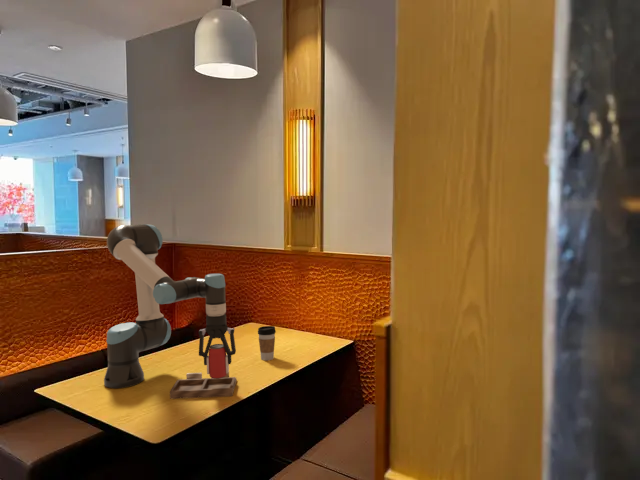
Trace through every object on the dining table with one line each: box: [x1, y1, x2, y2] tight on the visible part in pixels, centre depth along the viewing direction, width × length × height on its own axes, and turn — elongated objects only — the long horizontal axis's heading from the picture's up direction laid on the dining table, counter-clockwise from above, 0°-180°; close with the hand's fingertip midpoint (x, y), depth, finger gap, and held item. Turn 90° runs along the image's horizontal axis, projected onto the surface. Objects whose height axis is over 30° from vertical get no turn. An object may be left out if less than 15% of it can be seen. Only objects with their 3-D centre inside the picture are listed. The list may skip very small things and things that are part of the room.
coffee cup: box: [257, 325, 277, 361], centre depth 211 cm, size 8×8×15 cm
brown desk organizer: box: [169, 371, 238, 400], centre depth 175 cm, size 23×16×4 cm
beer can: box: [208, 343, 227, 379], centre depth 173 cm, size 7×7×12 cm
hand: (218, 372), depth 174 cm, fingers closed on beer can, 6 cm apart
